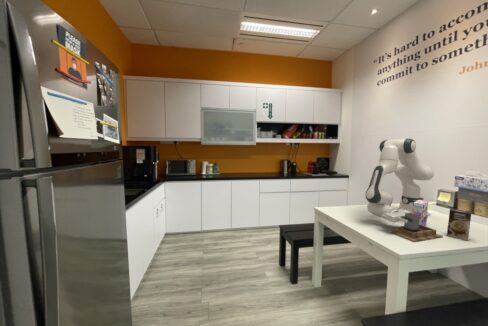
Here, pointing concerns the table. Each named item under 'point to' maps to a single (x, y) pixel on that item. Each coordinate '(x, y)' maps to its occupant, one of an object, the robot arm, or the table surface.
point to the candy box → (421, 211)
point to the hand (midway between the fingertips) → (413, 220)
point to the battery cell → (412, 222)
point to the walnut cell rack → (417, 234)
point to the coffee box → (459, 224)
